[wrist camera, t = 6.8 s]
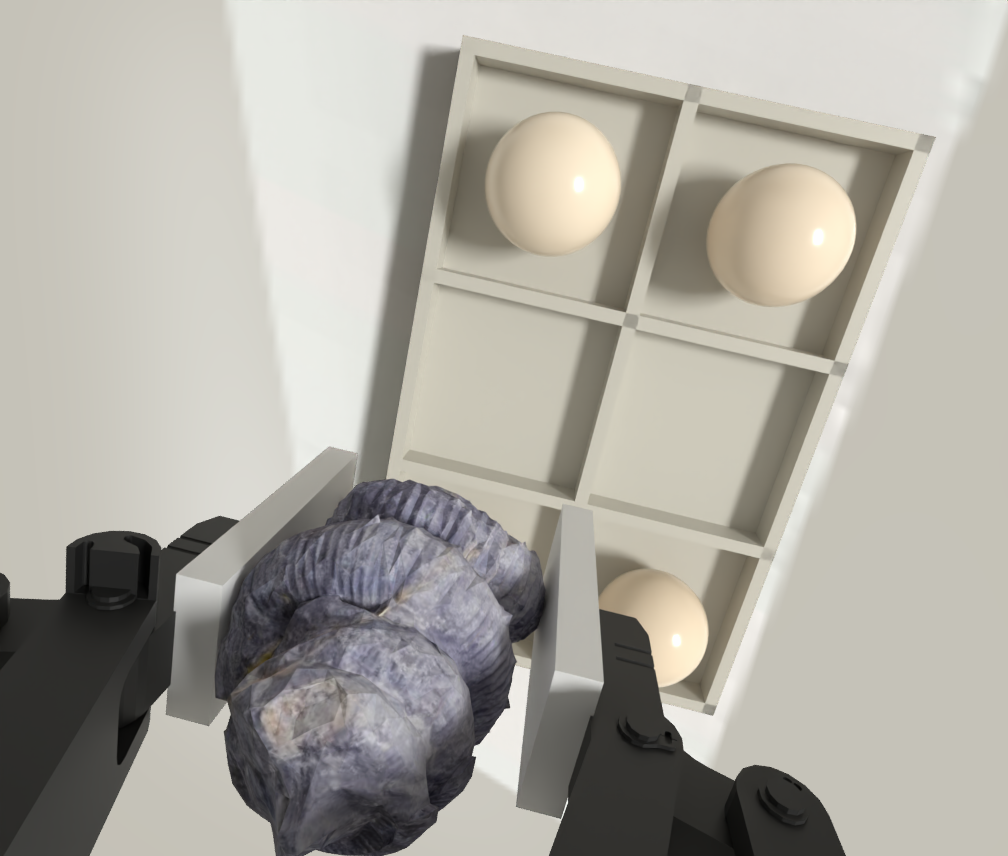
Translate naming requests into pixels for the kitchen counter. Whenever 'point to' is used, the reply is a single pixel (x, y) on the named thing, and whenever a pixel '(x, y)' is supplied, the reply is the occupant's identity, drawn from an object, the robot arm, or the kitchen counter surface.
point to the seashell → (373, 666)
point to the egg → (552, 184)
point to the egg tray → (637, 335)
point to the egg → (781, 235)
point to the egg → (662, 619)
